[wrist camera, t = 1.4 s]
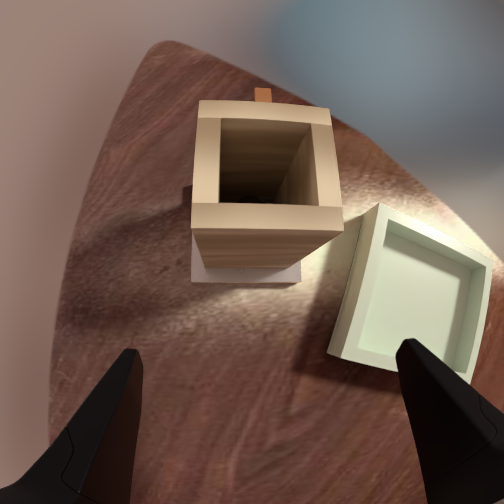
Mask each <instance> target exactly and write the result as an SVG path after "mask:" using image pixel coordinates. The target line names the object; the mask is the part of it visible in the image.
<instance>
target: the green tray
mask: <svg viewBox="0 0 504 504" xmlns="http://www.w3.org/2000/svg"><path fill="white" fill-rule="evenodd" d="M492 267H493V260H492V259H490V258H489V257H487V256H485V255H483V254H482V253H480V252H478V251H476V250H474V249H473V248H471V247H469V246H467V245H465V244H463V243H462V242H460V241H458V240H456V239H454V238H452V237H450V236H448V235H446V234H444V233H442V232H440V231H438V230H436V229H435V228H433V227H430V226H428V225H426V224H424V223H422V222H420V221H418V220H416V219H414V218H412V217H410V216H408V215H406V214H404V213H401V212H399V211H397V210H395V209H393V208H391V207H388V206H386V205H384V204H382V203H378V204H377V205H375V206H374V207H373V208H371V209H370V210H368V211H367V212H366V213H364V215H363V220H362V224H361V229H360V233H359V238H358V242H357V246H356V250H355V254H354V259H353V263H352V267H351V270H350V274H349V278H348V282H347V286H346V289H345V293H344V297H343V300H342V304H341V307H340V311H339V314H338V318H337V321H336V324H335V328H334V331H333V334H332V337H331V340H330V344H329V347H328V350H327V353H328V354H331V355H334V356H336V357H339V358H343V359H346V360H350V361H354V362H358V363H362V364H366V365H370V366H375V367H379V368H383V369H387V370H392V371H396V372H398V369H397V364H396V359H395V355H396V352H397V350H398V348H399V347H400V345H401V343H402V342H403V340H404V339H407V338H415V339H417V340H418V341H419V342H420V343H422V344H423V345H424V346H425V347H426V348H427V349H429V350H430V351H431V352H432V353H433V354H435V355H436V356H437V357H438V358H439V359H440V360H442V361H443V362H444V363H445V364H446V365H447V366H449V367H450V368H451V369H452V370H453V371H454V372H456V373H457V374H458V375H459V376H460V377H461V378H462V379H464V380H465V381H466V382H467V383H468V384H469V385H470V382H471V378H472V375H473V371H474V368H475V364H476V360H477V356H478V352H479V348H480V343H481V339H482V334H483V329H484V324H485V318H486V313H487V307H488V300H489V293H490V285H491V277H492Z"/></svg>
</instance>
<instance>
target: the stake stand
mask: <svg viewBox="0 0 504 504" xmlns="http://www.w3.org/2000/svg"><path fill="white" fill-rule="evenodd" d="M220 203H250V204H272V203H265V202H264V201H263V200H262V199H260V198H258V197H254V196H246V197H243V198H241V199H239V200H238V201H237V202H220ZM191 282H192V283H300V282H301V260H300V261H298V262H297V263H295V264H294V265H292V266H291V267H289V268H205V267H204V264H203V261H202V258H201V255H200V253H199V250H198V247H197V244H196V241H195V239H194V236H193V233H192V257H191Z"/></svg>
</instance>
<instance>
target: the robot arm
mask: <svg viewBox="0 0 504 504" xmlns="http://www.w3.org/2000/svg"><path fill="white" fill-rule="evenodd" d="M395 359H396V364H397V369H398V375H399V380H400V385H401V391H402V395H403V399H404V403H405V406H406V410H407V413H408V417H409V421H410V425H411V428H412V432H413V436H414V440H415V444H416V449H417V453H418V457H419V462H420V466H421V471H422V476H423V480H424V484H425V485H424V486H425V491H426V497H427V502H428V504H504V413H502V412H501V411H500V410H498V409H497V408H496V407H495V406H493V405H492V404H491V403H490V402H489V401H487V400H486V399H485V398H484V397H483V396H482V395H481V394H479V393H478V392H477V391H476V390H475V389H474V388H473V387H472V386H470V385H469V384H468V383H467V382H466V381H465V380H464V379H462V378H461V377H460V376H459V375H458V374H457V373H456V372H454V371H453V370H452V369H451V368H450V367H449V366H447V365H446V364H445V363H444V362H443V361H442V360H440V359H439V358H438V357H437V356H436V355H435V354H433V353H432V352H431V351H430V350H429V349H427V348H426V347H425V346H424V345H423V344H422V343H420V342H419V341H418V340H417V339H415V338H407V339H404V340H403V342H402V343H401V345H400V347H399V348H398V350H397V352H396V355H395ZM142 383H143V363H142V360H141V357H140V354H139V351H138V350H137V349H130V348H126V349H124V350H123V352H122V353H121V354H120V355H119V357H118V358H117V359H116V360H115V362H114V363H113V364H112V366H111V367H110V368H109V369H108V371H107V372H106V373H105V375H104V376H103V377H102V378H101V380H100V381H99V382H98V384H97V385H96V386H95V387H94V389H93V390H92V391H91V393H90V394H89V395H88V397H87V398H86V399H85V401H84V402H83V403H82V405H81V406H80V407H79V409H78V410H77V411H76V413H75V414H74V415H73V417H72V418H71V419H70V421H69V422H68V423H67V427H66V426H65V427H64V429H63V430H62V431H61V433H60V434H59V435H58V437H57V438H56V439H55V441H54V442H53V443H52V444H51V446H50V447H49V448H48V449H47V450H46V451H45V452H44V454H43V455H42V456H41V457H40V458H39V459H38V460H37V461H36V462H35V463H34V464H33V465H32V467H31V468H30V469H29V470H28V471H27V472H26V473H25V474H24V475H23V476H22V477H21V478H20V479H19V480H18V481H16V482H15V483H13V484H11V485H9V486H7V487H4V488H1V489H0V504H129V503H130V492H131V483H132V474H133V465H134V457H135V450H136V443H137V436H138V429H139V422H140V416H141V404H142Z"/></svg>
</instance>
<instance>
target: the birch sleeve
mask: <svg viewBox="0 0 504 504" xmlns="http://www.w3.org/2000/svg"><path fill="white" fill-rule="evenodd" d="M246 196H254V197H258V198H260V199H262V200H263V201H264V202H265V203H272V204H250V203H220V202H237V201H238V200H239V199H241V198H243V197H246ZM191 230H192V233H193V236H194V239H195V241H196V244H197V247H198V250H199V253H200V255H201V258H202V261H203V264H204V267H205V268H289V267H291V266H292V265H294V264H295V263H297V262H298V261H300V260H301V259H303V258H304V257H306V256H307V255H309V254H310V253H312V252H313V251H315V250H316V249H318V248H319V247H321V246H322V245H324V244H325V243H327V242H328V241H330V240H331V239H333V238H334V237H336V236H337V235H339V234H340V233H342V232H343V231H344V223H343V212H342V201H341V192H340V183H339V174H338V166H337V158H336V151H335V144H334V137H333V130H332V124H331V118H330V112H329V109H327V108H320V107H311V106H302V105H293V104H281V103H272V101H271V89H269V88H255V90H254V96H253V102H251V101H218V100H200V102H199V112H198V123H197V134H196V147H195V160H194V175H193V192H192V212H191Z"/></svg>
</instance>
